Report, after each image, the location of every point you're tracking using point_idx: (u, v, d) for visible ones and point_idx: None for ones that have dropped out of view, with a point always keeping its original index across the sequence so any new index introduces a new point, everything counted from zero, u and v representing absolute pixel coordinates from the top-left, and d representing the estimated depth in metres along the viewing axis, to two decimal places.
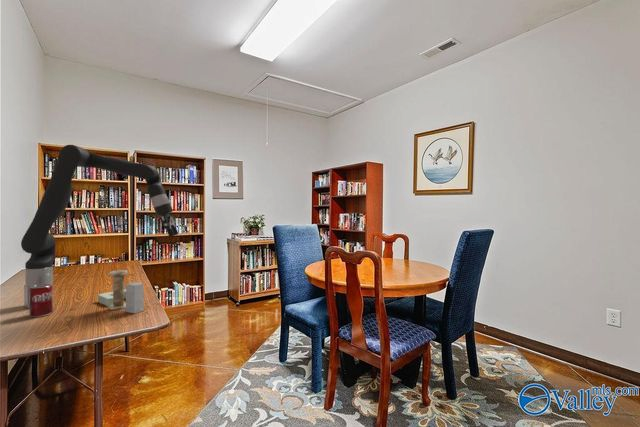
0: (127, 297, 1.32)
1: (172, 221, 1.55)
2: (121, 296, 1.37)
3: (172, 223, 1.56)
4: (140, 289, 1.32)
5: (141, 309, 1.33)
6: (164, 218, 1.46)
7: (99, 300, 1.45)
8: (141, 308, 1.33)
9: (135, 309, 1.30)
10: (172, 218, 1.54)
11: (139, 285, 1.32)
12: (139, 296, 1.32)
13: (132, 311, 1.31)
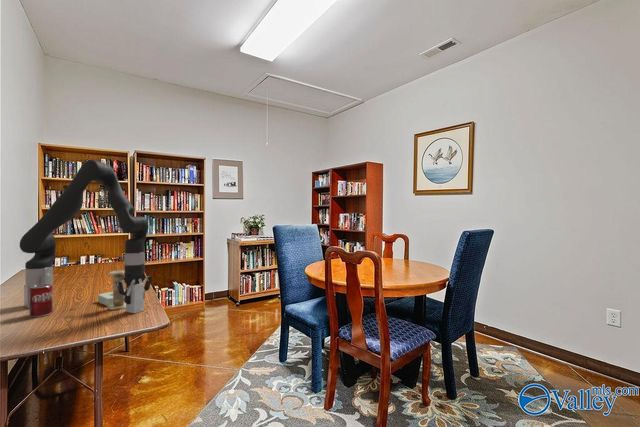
0: None
1: None
2: (121, 296, 1.37)
3: None
4: (140, 289, 1.32)
5: (141, 309, 1.33)
6: (118, 285, 1.27)
7: (99, 300, 1.45)
8: (141, 308, 1.33)
9: (135, 309, 1.30)
10: (139, 281, 1.33)
11: (139, 285, 1.32)
12: (139, 296, 1.32)
13: (132, 311, 1.31)
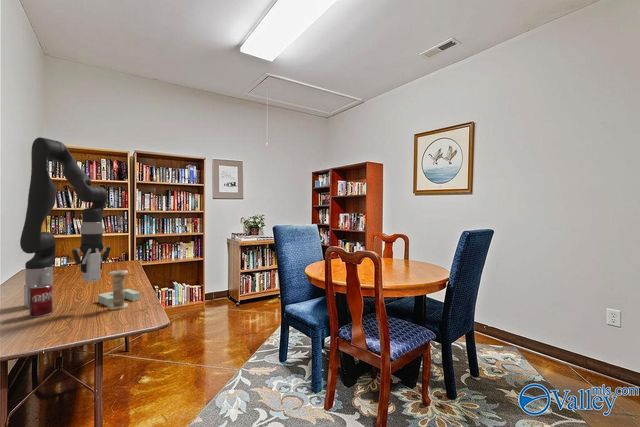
0: None
1: None
2: (121, 296, 1.37)
3: None
4: (96, 259, 1.33)
5: (97, 278, 1.34)
6: (73, 253, 1.29)
7: (99, 300, 1.45)
8: (98, 277, 1.34)
9: (90, 278, 1.31)
10: (96, 250, 1.34)
11: (95, 254, 1.33)
12: (95, 265, 1.33)
13: (88, 279, 1.32)
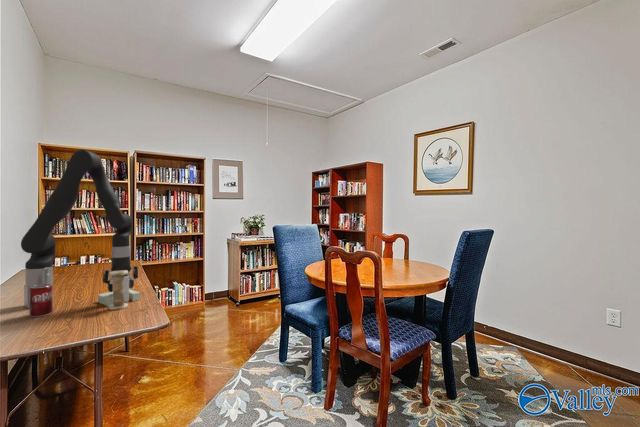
0: None
1: (127, 274, 1.48)
2: (121, 296, 1.37)
3: None
4: (125, 282, 1.46)
5: (126, 299, 1.46)
6: (104, 273, 1.41)
7: (99, 300, 1.45)
8: (127, 298, 1.47)
9: None
10: None
11: (124, 278, 1.46)
12: (124, 288, 1.46)
13: None
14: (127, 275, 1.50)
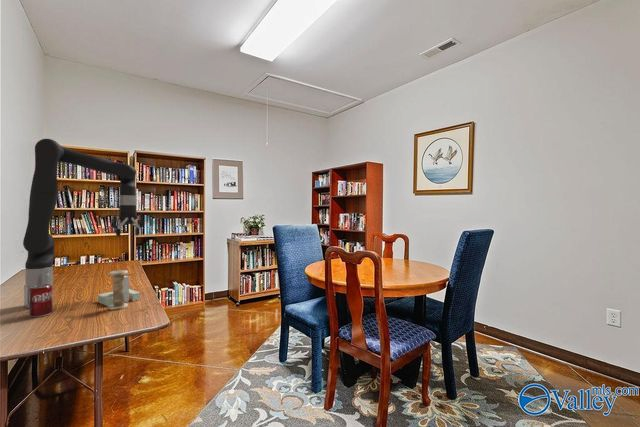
0: None
1: (133, 222, 1.60)
2: (121, 296, 1.37)
3: (134, 224, 1.61)
4: (125, 282, 1.46)
5: (126, 299, 1.46)
6: (113, 218, 1.53)
7: (99, 300, 1.45)
8: (127, 298, 1.47)
9: None
10: (132, 219, 1.59)
11: (124, 278, 1.46)
12: (124, 288, 1.46)
13: None
14: (133, 223, 1.62)
